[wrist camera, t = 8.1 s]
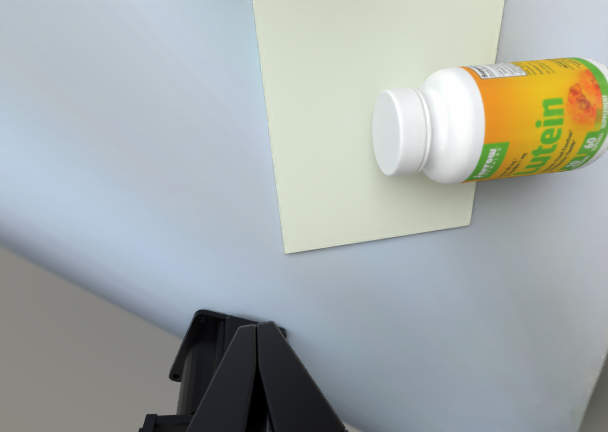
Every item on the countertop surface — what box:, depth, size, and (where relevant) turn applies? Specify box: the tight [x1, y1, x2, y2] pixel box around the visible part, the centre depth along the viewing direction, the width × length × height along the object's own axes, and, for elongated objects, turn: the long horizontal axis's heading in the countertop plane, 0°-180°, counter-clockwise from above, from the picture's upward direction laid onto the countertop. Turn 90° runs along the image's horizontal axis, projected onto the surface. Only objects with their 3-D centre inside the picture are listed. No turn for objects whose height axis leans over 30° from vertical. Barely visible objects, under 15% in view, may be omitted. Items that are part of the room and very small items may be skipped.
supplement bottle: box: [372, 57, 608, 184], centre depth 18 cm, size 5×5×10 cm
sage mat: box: [252, 0, 505, 254], centre depth 21 cm, size 12×14×1 cm
